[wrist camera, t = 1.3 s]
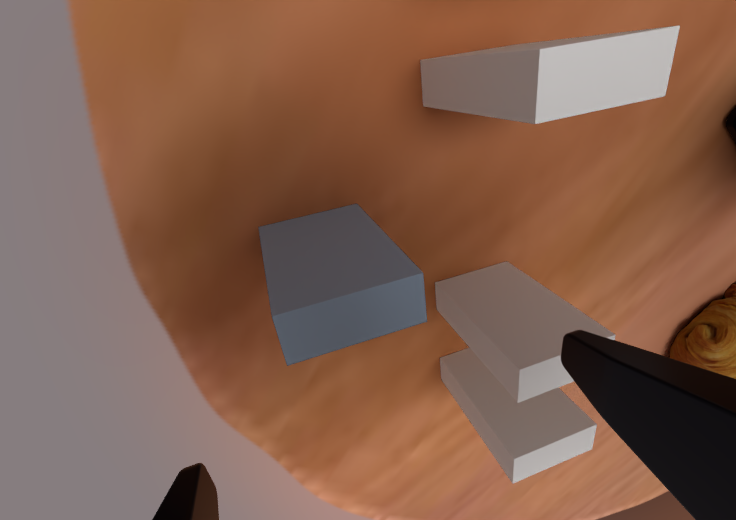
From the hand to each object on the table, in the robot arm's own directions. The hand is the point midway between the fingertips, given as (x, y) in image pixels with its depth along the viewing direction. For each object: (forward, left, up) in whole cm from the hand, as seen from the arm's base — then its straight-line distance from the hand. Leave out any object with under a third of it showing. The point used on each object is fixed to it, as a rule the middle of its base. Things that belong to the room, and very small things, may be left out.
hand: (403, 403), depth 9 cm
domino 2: (-2, -10, -12) cm, 16 cm away
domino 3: (-11, -2, -12) cm, 16 cm away
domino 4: (-15, +2, -12) cm, 19 cm away
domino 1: (0, 0, -12) cm, 12 cm away
